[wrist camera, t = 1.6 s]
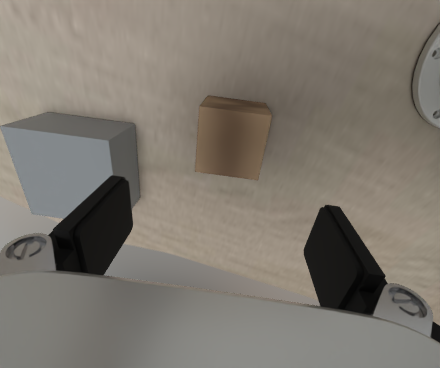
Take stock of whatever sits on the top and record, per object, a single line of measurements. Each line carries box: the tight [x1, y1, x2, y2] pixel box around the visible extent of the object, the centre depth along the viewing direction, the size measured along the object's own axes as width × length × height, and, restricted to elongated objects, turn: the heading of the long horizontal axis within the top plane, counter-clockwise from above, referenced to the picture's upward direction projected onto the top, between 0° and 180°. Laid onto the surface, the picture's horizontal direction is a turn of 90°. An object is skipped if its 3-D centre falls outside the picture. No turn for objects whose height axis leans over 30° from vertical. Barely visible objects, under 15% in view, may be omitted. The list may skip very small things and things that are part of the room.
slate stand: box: [0, 112, 140, 219], centre depth 26 cm, size 10×10×6 cm
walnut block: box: [195, 96, 272, 180], centre depth 23 cm, size 6×6×6 cm
